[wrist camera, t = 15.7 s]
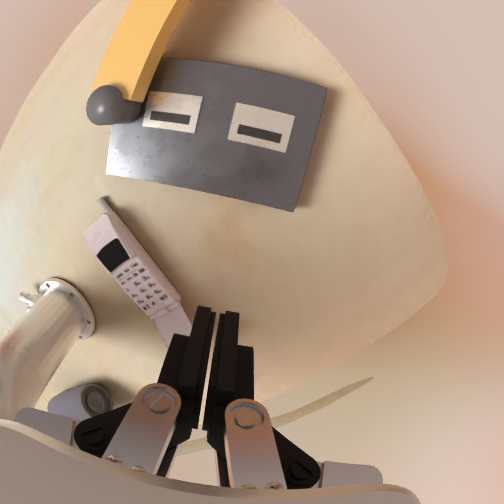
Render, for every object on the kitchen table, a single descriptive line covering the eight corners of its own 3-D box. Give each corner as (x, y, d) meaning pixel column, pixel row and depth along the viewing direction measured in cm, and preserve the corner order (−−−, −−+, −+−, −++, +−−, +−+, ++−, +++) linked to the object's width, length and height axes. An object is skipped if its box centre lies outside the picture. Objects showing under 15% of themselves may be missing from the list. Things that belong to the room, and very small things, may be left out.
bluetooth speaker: (80, 408, 56) (68, 434, 46) (55, 386, 52) (40, 413, 43) (122, 396, 50) (107, 431, 41) (90, 370, 46) (71, 404, 37)
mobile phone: (179, 372, 36) (57, 233, 27) (187, 344, 41) (81, 217, 33) (212, 359, 34) (83, 205, 26) (217, 331, 40) (107, 192, 31)
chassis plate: (114, 170, 30) (104, 174, 28) (134, 60, 24) (125, 57, 22) (291, 207, 31) (293, 213, 29) (323, 91, 25) (328, 88, 23)
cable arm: (138, 129, 26) (116, 130, 21) (103, 119, 25) (78, 120, 20) (221, -39, 16) (215, -60, 12) (182, -43, 16) (171, -63, 11)
